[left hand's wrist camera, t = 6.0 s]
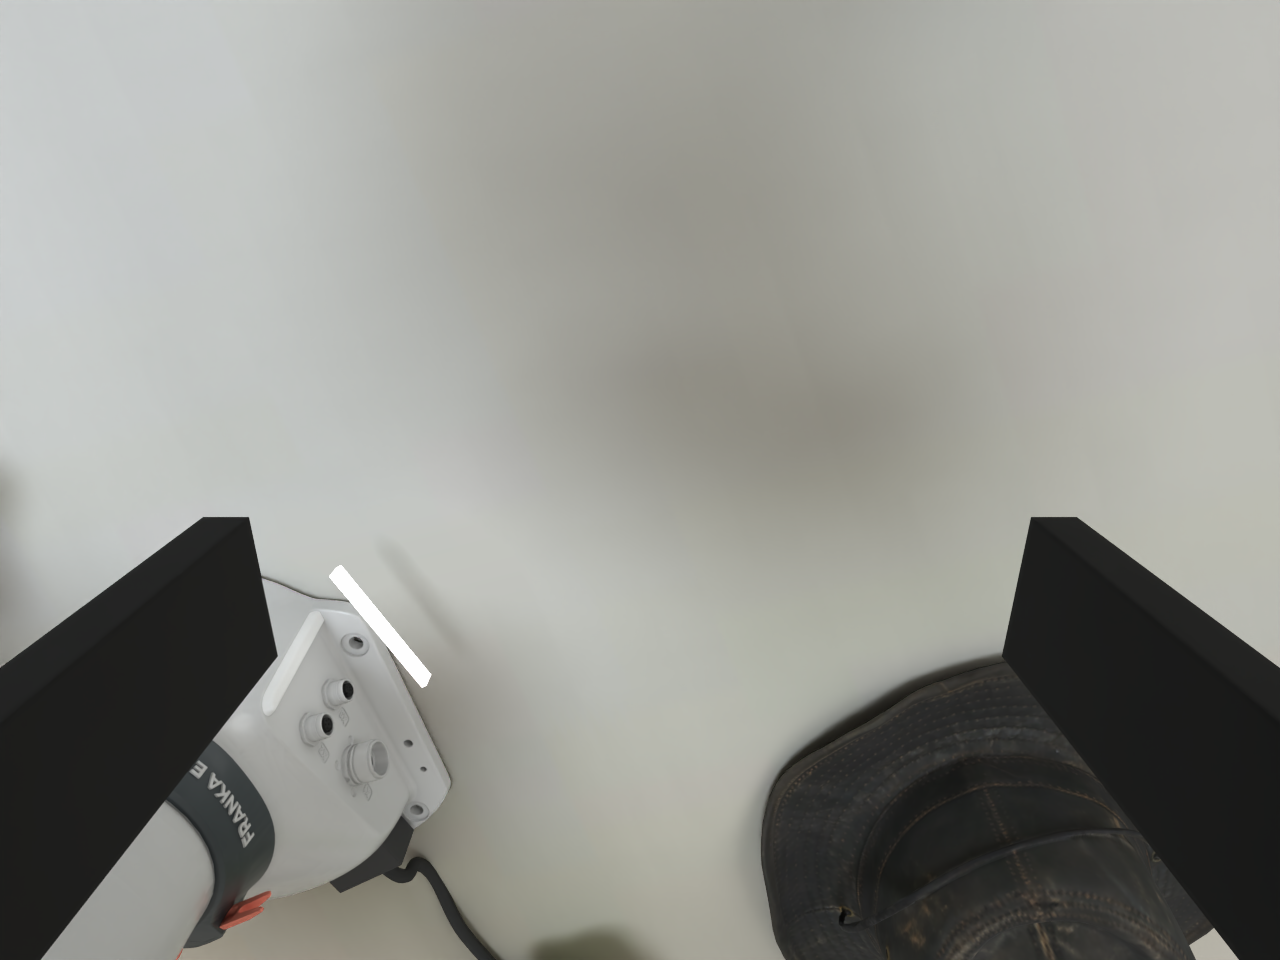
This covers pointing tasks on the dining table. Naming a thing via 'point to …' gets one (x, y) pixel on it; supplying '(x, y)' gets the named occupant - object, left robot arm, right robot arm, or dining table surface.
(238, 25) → the dining table surface
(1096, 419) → the dining table surface
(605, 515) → the dining table surface
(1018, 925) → the hat
